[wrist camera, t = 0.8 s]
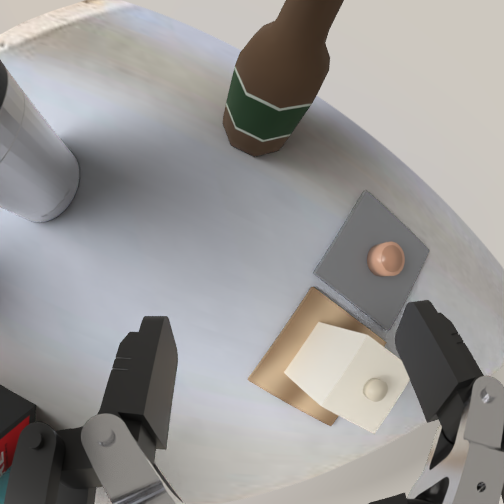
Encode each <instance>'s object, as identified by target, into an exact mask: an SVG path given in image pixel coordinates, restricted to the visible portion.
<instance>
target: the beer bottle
mask: <svg viewBox="0 0 504 504" xmlns="http://www.w3.org/2000/svg"><path fill="white" fill-rule="evenodd" d="M343 1H344V0H286V1H285V3H284V5H283V7H282V9H281V12H280V13H279V16H278V18H277V19H276V20H275V21H273V22H272V23H269V24H266V25H264V26H263V27H262V28H261V29H260V30H259V31H258V32H257V33H256V34H255V35H254V36H253V37H252V38H251V40H250V41H249V42H248V44H247V45H246V46H245V47H244V49H243V50H242V51H241V52H240V54H239V57H238V59H237V62H236V65H235V68H234V72H233V76H232V81H231V85H230V89H229V93H228V98H227V102H226V107H225V111H224V116H223V125H224V128H225V131H226V133H227V136H228V139H229V141H230V144H231V145H232V146H234V147H236V148H238V149H240V150H242V151H244V152H246V153H248V154H250V155H252V156H254V157H255V156H259V155H263V154H267V153H271V152H275V151H279V149H280V148H281V147H282V146H283V145H284V143H285V142H286V140H287V139H288V137H289V136H290V135H291V133H292V132H293V130H294V129H295V127H296V126H297V124H298V123H299V121H300V120H301V119H302V117H303V116H304V114H305V113H306V111H307V110H308V109H309V107H310V106H311V104H312V103H313V101H314V99H315V97H316V95H317V93H318V91H319V89H320V87H321V85H322V83H323V81H324V79H325V77H326V75H327V73H328V71H329V63H330V57H329V53H328V50H327V47H326V44H325V42H326V38H327V35H328V32H329V29H330V27H331V25H332V23H333V21H334V19H335V17H336V15H337V13H338V11H339V9H340V7H341V5H342V3H343Z"/></svg>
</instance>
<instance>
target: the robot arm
mask: <svg viewBox="0 0 504 504" xmlns="http://www.w3.org/2000/svg"><path fill="white" fill-rule="evenodd" d="M78 184H79V166H78V162H77V160H76V158H75V156H74V155H73V154H72V152H71V151H70V150H69V149H68V147H67V146H66V145H65V144H64V143H63V141H62V140H61V139H60V137H59V136H58V135H57V134H56V133H55V131H54V130H53V129H52V128H51V126H50V125H49V124H48V123H47V121H46V120H45V119H44V117H43V116H42V115H41V114H40V112H39V111H38V110H37V109H36V107H35V106H34V105H33V103H32V102H31V101H30V99H29V98H28V97H27V96H26V94H25V93H24V92H23V90H22V89H21V88H20V87H19V85H18V84H17V82H16V81H15V80H14V78H13V77H12V76H11V74H10V73H9V71H8V70H7V69H6V67H5V66H4V64H3V63H2V62H1V60H0V207H1V208H3V209H5V210H7V211H9V212H12V213H14V214H16V215H18V216H20V217H23V218H25V219H27V220H30V221H33V222H46V221H49V220H52V219H53V218H55V217H57V216H59V215H60V214H61V213H62V212H63V211H64V210H65V209H66V208H67V207H68V206H69V204H70V203H71V201H72V199H73V198H74V196H75V193H76V191H77V188H78ZM395 344H396V349H397V351H398V353H399V356H400V358H401V360H402V362H403V365H404V367H405V369H406V371H407V374H408V376H409V378H410V381H411V383H412V386H413V388H414V390H415V393H416V395H417V398H418V400H419V403H420V405H421V408H422V410H423V413H424V415H425V418H426V420H427V422H431V421H435V420H437V419H439V421H440V425H439V427H438V429H437V432H436V435H435V438H434V441H433V445H432V447H431V451H430V453H429V457H428V459H427V462H426V465H425V467H424V470H423V472H422V474H421V476H420V477H419V479H418V480H417V481H416V483H415V484H414V486H413V487H412V489H411V491H410V493H409V495H408V497H407V498H406V495H405V493H402V494H399V495H396V496H392V497H389V498H385V499H382V500H378V501H374V502H371V503H369V504H499V499H500V496H501V495H502V499H503V503H504V387H503V385H502V384H501V383H500V382H499V381H498V380H497V379H495V378H493V377H491V376H484V375H483V374H482V372H481V370H480V368H479V367H478V365H477V363H476V361H475V360H474V358H473V356H472V355H471V353H470V351H469V350H468V348H467V346H466V345H465V343H463V340H462V338H461V336H460V335H458V332H457V330H456V328H455V327H454V325H453V324H452V322H451V321H450V320H449V319H447V318H446V317H445V316H444V315H443V314H441V313H438V312H437V311H436V309H435V308H434V306H433V305H432V303H431V302H430V301H428V300H425V301H417V302H409V303H408V304H407V305H406V308H405V310H404V313H403V316H402V319H401V321H400V324H399V327H398V329H397V332H396V336H395ZM177 364H178V354H177V347H176V343H175V340H174V336H173V333H172V329H171V325H170V322H169V319H168V317H167V316H145V317H144V318H143V320H142V323H141V326H140V330H139V332H129V333H128V335H127V336H126V337H125V338H124V339H123V341H122V342H121V343H120V345H119V348H118V351H117V354H116V359H115V361H114V364H113V367H112V368H113V370H111V373H110V377H109V380H108V383H107V387H106V390H105V394H104V397H103V401H102V404H101V408H100V410H99V412H98V414H97V415H96V416H94V417H92V418H90V419H89V420H88V421H87V422H86V423H85V425H84V426H83V427H80V428H74V429H66V430H58V431H54V430H53V429H52V428H51V427H50V426H49V425H47V424H45V423H43V422H33V423H31V424H29V425H27V426H26V427H25V428H24V429H23V430H22V431H21V433H20V435H19V438H18V442H17V446H16V450H15V453H14V457H13V462H12V466H11V470H10V475H9V479H8V484H7V489H6V495H5V500H4V504H94V502H95V492H96V487H104V489H105V491H106V493H107V495H108V496H109V498H110V500H111V502H112V504H185V502H184V501H183V500H182V499H181V497H180V496H179V495H178V493H177V492H176V491H175V489H174V488H173V487H172V485H171V484H170V483H169V481H168V480H167V479H166V477H165V476H164V474H163V473H162V471H161V470H160V469H159V467H158V466H157V464H156V463H155V461H154V459H155V451H156V449H165V450H166V447H167V438H168V430H169V422H170V414H171V406H172V399H173V392H174V385H175V378H176V371H177Z"/></svg>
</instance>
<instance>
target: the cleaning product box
mask: <svg viewBox="0 0 504 504" xmlns="http://www.w3.org/2000/svg"><path fill="white" fill-rule="evenodd" d="M35 410H36V405H35V404H33V403H31V402H29V401H28V400H26V399H24V398H22V397H20V396H19V395H17V394H15V393H13V392H12V391H10V390H8V389H7V388H5V387H3V386H2V385H0V477H1V476H2V474H3V473H5V472H6V471H7V470H6V469H8V468H9V467H10V466H11V465H12V462H13V457H14V453H15V450H16V446H17V442H18V438H19V435H20V433H21V431H22V430H23V429H24V428H25V427H26V426H27V425H29V424H31V423H33V422H35ZM4 470H5V471H4ZM1 473H2V474H1Z"/></svg>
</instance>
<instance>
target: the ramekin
mask: <svg viewBox="0 0 504 504" xmlns="http://www.w3.org/2000/svg"><path fill="white" fill-rule="evenodd" d="M404 263H405V257H404V252H403V250H402V248H401V247H400V246H399V245H398V244H397V243H395V242H386V243H381V244H377V245H374V246H373V247H372V248H371V249H370V250H369V252H368V255H367V264H368V267H369V269H370V271H371V272H372V273H373V274H374V275H376V276H379V277H383V276H395V275H397V274H399V273H400V272H401V271H402V269H403V267H404Z"/></svg>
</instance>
